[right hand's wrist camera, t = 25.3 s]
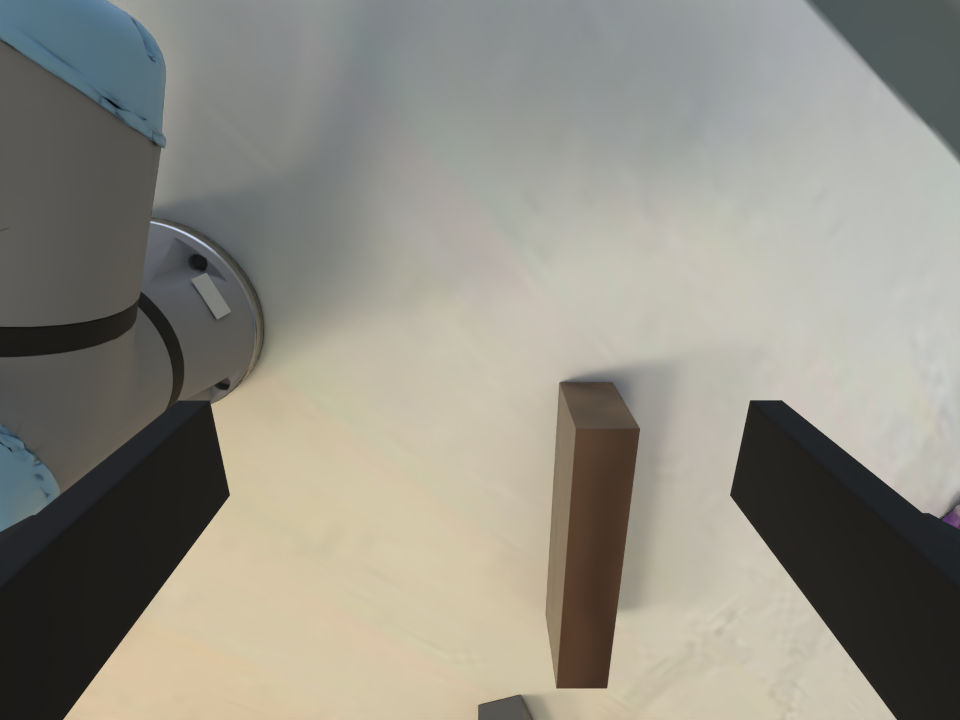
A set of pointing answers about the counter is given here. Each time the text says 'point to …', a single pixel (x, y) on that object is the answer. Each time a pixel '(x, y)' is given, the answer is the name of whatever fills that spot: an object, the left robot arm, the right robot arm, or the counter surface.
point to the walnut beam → (588, 529)
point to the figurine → (953, 517)
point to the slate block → (504, 710)
